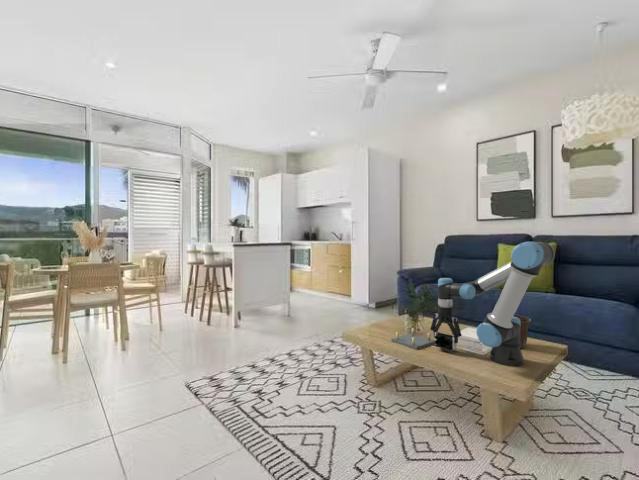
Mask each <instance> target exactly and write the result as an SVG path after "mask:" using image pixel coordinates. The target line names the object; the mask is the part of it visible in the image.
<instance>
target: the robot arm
mask: <svg viewBox="0 0 639 480" xmlns="http://www.w3.org/2000/svg"><path fill="white" fill-rule="evenodd" d="M555 255H556V253H555V249H554V248H553V246H552V245H550V244H549V243H547V242H544V241H524V242H520V243H519V244H517V245H515V246H514V247H513V249H512V251H511V254H510V258H511V261H508V262H507V263H504V264H503V265H502V266H499V267H498V268H496V269H494V270H492V271H490V272H487V273H486V274H485V275H483V276H481V277H479V278H477V279H475V280H473V281H469V282H464V283H463V282H462V283H457V282H453V279H452V278H450V277H440V278H438V280H437V295H438V296H437V305H438V306H437V313H433V316H432V317H433V318H432V322H431V326H430V331H432V332H433V337H434V341H436V340H437V338H436V339H435V336H436V335H438V333H440V332H439V329H440V327H441V326H442V324H447V326H448V328H449V329H450V331H451V333H452V336H454V337H453V349H452V350H456V349H457V347H458V346H457V345H458V343H459V338H460V337H462V335H463V334H462V332H461V329H460V325H459V318H458V317H454V316H453V314H454V313H453V312H454V309H453V304H454V303H453V298H459V299H465V300H473V299H474V297H476V296H481V295H483V294H486V292H487V291H489V290H491V289H493V288H495V287H497V286H499V285H501V284H503V283H505V284H504V286H503V289H502V291H501V292H500V295H499V297H498V299H497V301H496V303H495V306H494V308H493V310H492V311H491V312H489V313H487V314H486V317H485V318H484V321H483V322H482V323H480V324H479V325H478V326H477V327H476V330H475V331H476V336H477V339H478V340H479V342H480V343H482V345H484V346H486V347H488V348H491V350H490V352H489V353H490V354H489V358H490V359H491V361H493V362H494V363H496V364H497V363H498V364H499V365H504V366H510V367H511V366H512V367H519V366H523V365H524V363H525V358H524V356H523V352H522V350H521V349H520V327H521V324H520V319H519V318H517V317H514V315H516V314H515V313H516V312H517V310H518V308H519V306H520V304H521V301H522V300H523V297H525V293H526V291H527V290H528V287H529V285H530V283H531V281H532V280H533V278H535V277H539V275H540V272H541V270H542V269H543V267H545V266H549V265H550V264H551V263H552V262H553V261H554V260H555Z"/></svg>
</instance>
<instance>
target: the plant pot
mask: <svg viewBox="0 0 639 480" xmlns="http://www.w3.org/2000/svg"><path fill="white" fill-rule="evenodd" d="M514 317H517V318H519V319H520V324H521V327H520V348H522V349H525V347H526V348H527V341H528V332H529V327H530V324H531V318H529V317H527V316H523V315H519V314H514Z"/></svg>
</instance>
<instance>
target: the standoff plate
mask: <svg viewBox="0 0 639 480" xmlns="http://www.w3.org/2000/svg"><path fill="white" fill-rule="evenodd" d="M390 341H391V342H393V343H396V344H397V345H398V344H399V345H402V346H405V347H408V348H410V349H413V350H416V351H417V350H420V349H423V348H426V347H429V346H431V345H436V344H435V339H431V332H427V337H424V336H421V335H418V334H415V328H414V327H413V328H411V333H405V334H403V335H400V332H395V337H392V338H391V340H390Z"/></svg>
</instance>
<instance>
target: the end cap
mask: <svg viewBox="0 0 639 480" xmlns="http://www.w3.org/2000/svg"><path fill="white" fill-rule="evenodd" d="M453 337H454V335H453V334H452V335H451V334H446V333H442V332H439V333H438V335H436V336H435V337H434V341H435V339H436V338H437V340H436V341H435V344H434V347H437V348H441V349H444V350H447V351H452V350H454V349H453Z"/></svg>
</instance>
